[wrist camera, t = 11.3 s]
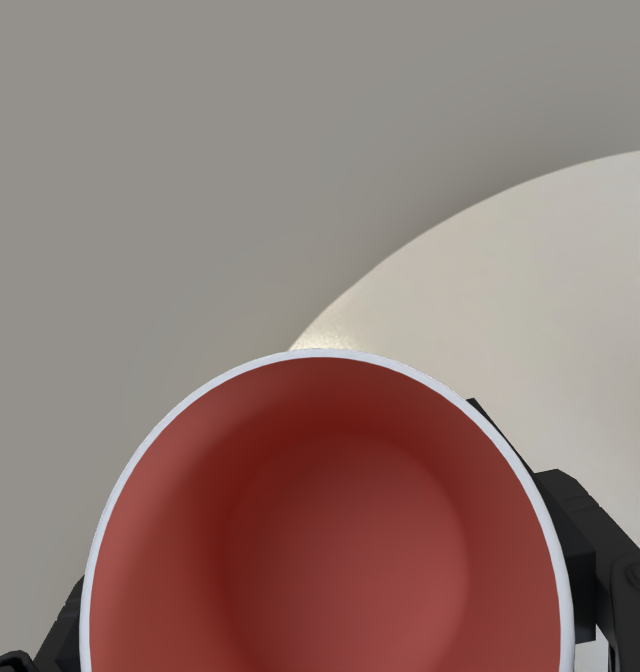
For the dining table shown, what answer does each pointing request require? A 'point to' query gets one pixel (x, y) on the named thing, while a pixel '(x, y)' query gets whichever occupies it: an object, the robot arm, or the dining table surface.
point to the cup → (325, 533)
